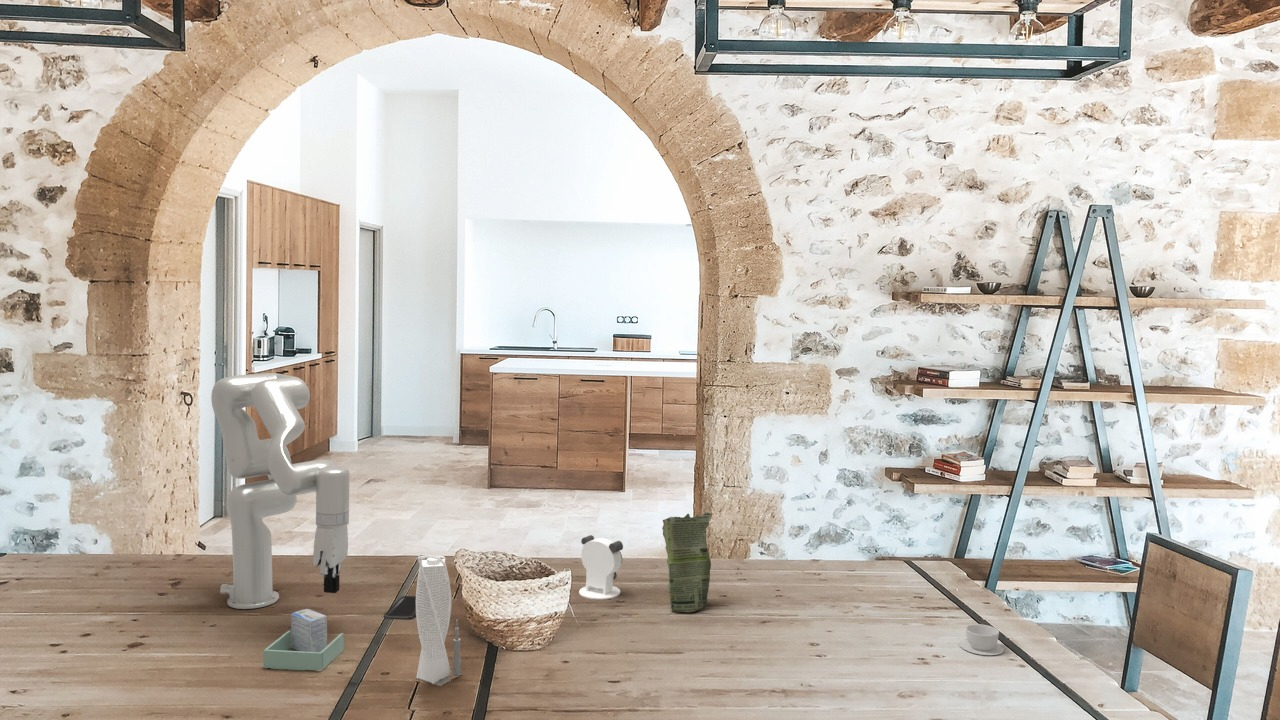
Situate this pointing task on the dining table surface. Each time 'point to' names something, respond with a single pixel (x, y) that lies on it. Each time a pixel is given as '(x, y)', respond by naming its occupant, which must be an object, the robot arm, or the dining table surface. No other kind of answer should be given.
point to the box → (300, 655)
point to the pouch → (687, 561)
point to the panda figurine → (600, 567)
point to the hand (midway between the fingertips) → (331, 591)
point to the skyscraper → (435, 621)
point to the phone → (403, 609)
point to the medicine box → (308, 631)
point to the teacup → (982, 640)
